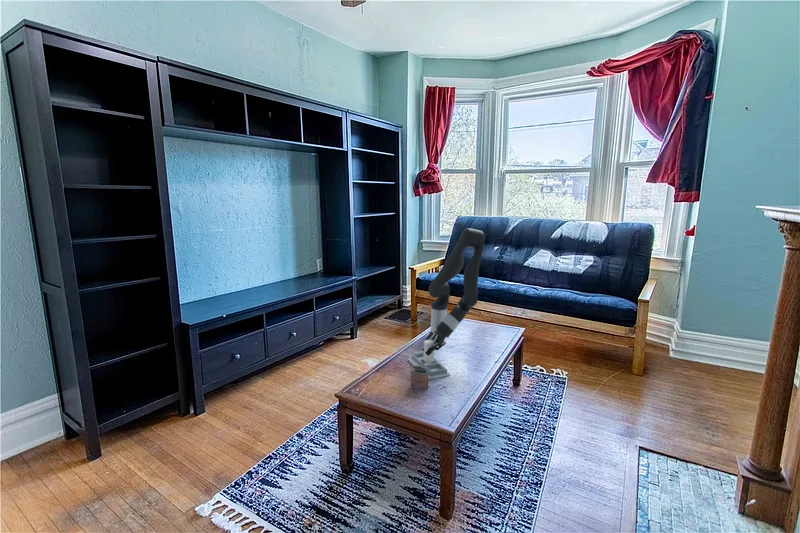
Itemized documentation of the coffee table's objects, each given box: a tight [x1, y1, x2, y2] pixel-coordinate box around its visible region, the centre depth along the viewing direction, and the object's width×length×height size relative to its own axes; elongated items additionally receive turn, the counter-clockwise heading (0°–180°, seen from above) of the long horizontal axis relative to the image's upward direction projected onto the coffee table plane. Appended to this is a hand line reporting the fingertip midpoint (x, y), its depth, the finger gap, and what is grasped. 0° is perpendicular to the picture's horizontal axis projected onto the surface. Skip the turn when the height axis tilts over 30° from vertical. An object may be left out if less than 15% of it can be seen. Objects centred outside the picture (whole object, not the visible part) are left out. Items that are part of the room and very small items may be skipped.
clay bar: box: [422, 339, 435, 363], centre depth 187 cm, size 4×4×10 cm
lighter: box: [410, 365, 430, 391], centre depth 169 cm, size 8×3×10 cm, turn 71°
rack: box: [408, 351, 451, 380], centre depth 189 cm, size 22×12×3 cm, turn 22°
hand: (425, 352), depth 187 cm, fingers closed on clay bar, 3 cm apart
